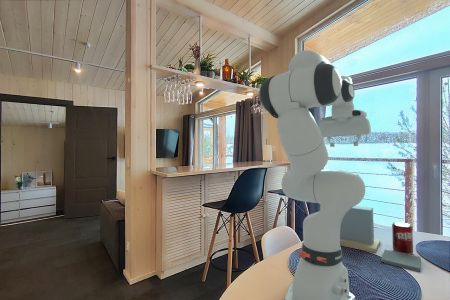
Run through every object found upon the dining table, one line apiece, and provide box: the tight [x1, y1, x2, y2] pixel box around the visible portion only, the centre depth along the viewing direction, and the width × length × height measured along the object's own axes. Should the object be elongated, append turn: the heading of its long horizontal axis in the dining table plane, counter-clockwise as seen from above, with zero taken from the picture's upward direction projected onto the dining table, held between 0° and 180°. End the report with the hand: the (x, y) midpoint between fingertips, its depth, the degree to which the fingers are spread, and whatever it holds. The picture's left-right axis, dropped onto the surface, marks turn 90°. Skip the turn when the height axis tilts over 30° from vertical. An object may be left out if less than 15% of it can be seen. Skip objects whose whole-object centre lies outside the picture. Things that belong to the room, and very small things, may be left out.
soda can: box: [391, 221, 414, 255], centre depth 102 cm, size 7×7×12 cm
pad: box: [380, 249, 421, 272], centre depth 93 cm, size 12×12×1 cm
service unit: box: [340, 205, 381, 253], centre depth 112 cm, size 14×18×18 cm
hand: (343, 146), depth 100 cm, fingers open, 8 cm apart
